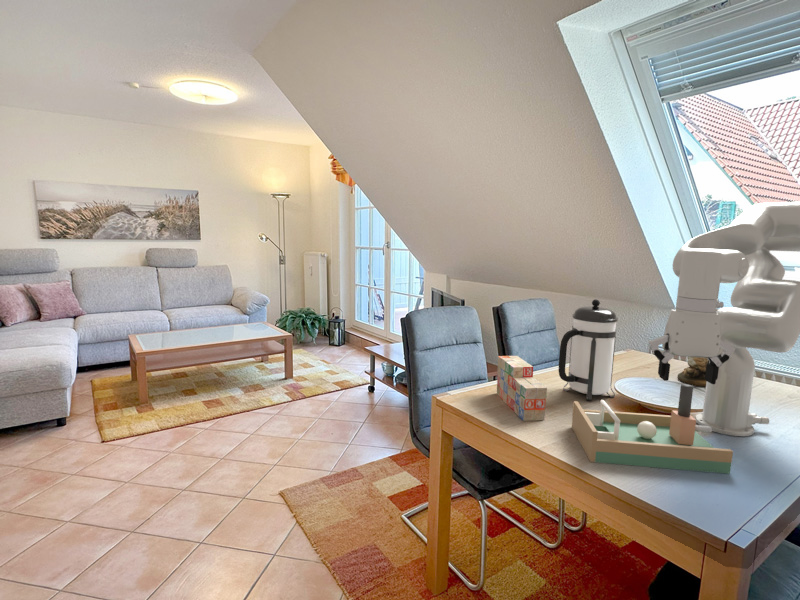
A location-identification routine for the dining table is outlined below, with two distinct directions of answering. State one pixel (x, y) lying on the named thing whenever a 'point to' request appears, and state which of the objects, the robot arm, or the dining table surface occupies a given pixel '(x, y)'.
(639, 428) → the ball
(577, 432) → the pitch
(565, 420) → the dining table surface
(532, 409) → the stack of blocks
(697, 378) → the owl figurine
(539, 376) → the dining table surface
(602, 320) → the coffee press
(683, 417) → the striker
